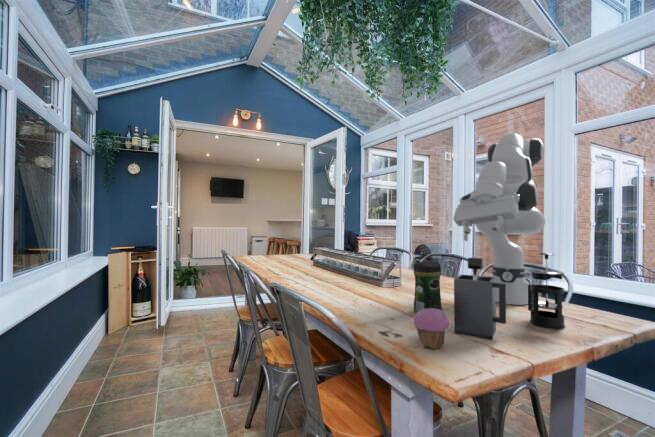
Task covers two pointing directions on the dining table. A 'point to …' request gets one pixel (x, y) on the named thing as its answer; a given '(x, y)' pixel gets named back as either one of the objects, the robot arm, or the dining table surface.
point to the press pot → (478, 306)
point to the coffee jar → (427, 285)
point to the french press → (546, 317)
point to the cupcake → (431, 327)
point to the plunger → (475, 265)
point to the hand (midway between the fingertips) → (480, 231)
